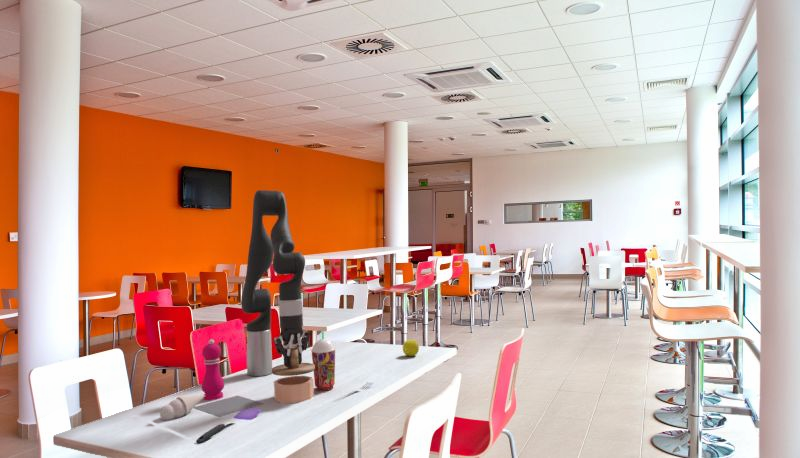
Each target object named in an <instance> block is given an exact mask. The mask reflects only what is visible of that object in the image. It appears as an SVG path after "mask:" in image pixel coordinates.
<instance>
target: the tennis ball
mask: <svg viewBox="0 0 800 458" xmlns="http://www.w3.org/2000/svg"><path fill="white" fill-rule="evenodd" d="M419 350H420V347H419V343H418V342H417V341H416V340H414V339H407V340H406V341H404V342H403V344H402V352H403V353H404V355H405V356H407V357H414V356H416V355H418V353H419Z"/></svg>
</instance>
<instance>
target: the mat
mask: <svg viewBox="0 0 800 458" xmlns="http://www.w3.org/2000/svg"><path fill="white" fill-rule="evenodd" d="M265 404H266V403H264V402H261V401H257V400H254V399H251V398H247V397H244V396H240V395H234V396H230V397H227V398H223V399H222V398H221V399H218V400H214V401H212V402H208V403H204V404H200V405H198V406H197V405H196V406H195V407H194V408H193V409H195V410H197V411H202V412H204V413H206V414H210V415H213V416H215V417H218V418H222V417H225V416H228V415H231V414H233V413H234V414H235V413H239V412H240V411H242V410H245V409H253V408H254V407H255V408H256V407H258V406H262V405H265Z"/></svg>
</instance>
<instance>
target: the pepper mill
mask: <svg viewBox="0 0 800 458" xmlns="http://www.w3.org/2000/svg"><path fill="white" fill-rule="evenodd" d="M201 353H202V354H201V355H202V357H203V358H204V360H203V361H204V362H203V364H204V366H205V372H204V375H203V376H204V377H203V379H202V382H201V391H202V392H203V393H204V394H202V396H205V395H206V396H205V397H204V398H203V400H204V401H218V400H221V399H222V398H224V393H223V389H225V382H224V379H223V377H222V374H221V371H220V368H219V364H220V363H221V362H220V360H221V359H220V356H221V354H222V349H221V347H220V345H219V344H216V343H215V340H214V339H212V338H211V339H209V340H208V344H206V345H205V346H204V347H203V348H202V350H201Z"/></svg>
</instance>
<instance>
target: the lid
mask: <svg viewBox="0 0 800 458" xmlns="http://www.w3.org/2000/svg"><path fill="white" fill-rule="evenodd" d="M289 356H290V357H291V367H285V365H284V363H283V364H279V365H276V366H274V367H273V366H272V373H271V374H272V375H275V376H281V377H290V376H302V375H305V374H310V373H312V372H314V370H315V365H314V364H313V363H311V362H301V364H300V365H299V356H298V348H294V347H292V348H291V350H290V355H289Z"/></svg>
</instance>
